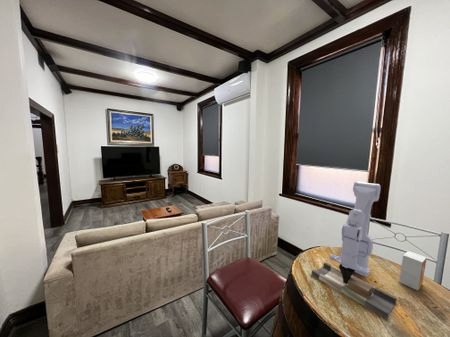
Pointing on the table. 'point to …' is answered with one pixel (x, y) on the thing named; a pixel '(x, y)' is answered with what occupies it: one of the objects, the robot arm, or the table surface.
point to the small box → (412, 270)
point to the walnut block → (360, 287)
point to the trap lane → (377, 302)
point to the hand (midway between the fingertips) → (345, 282)
